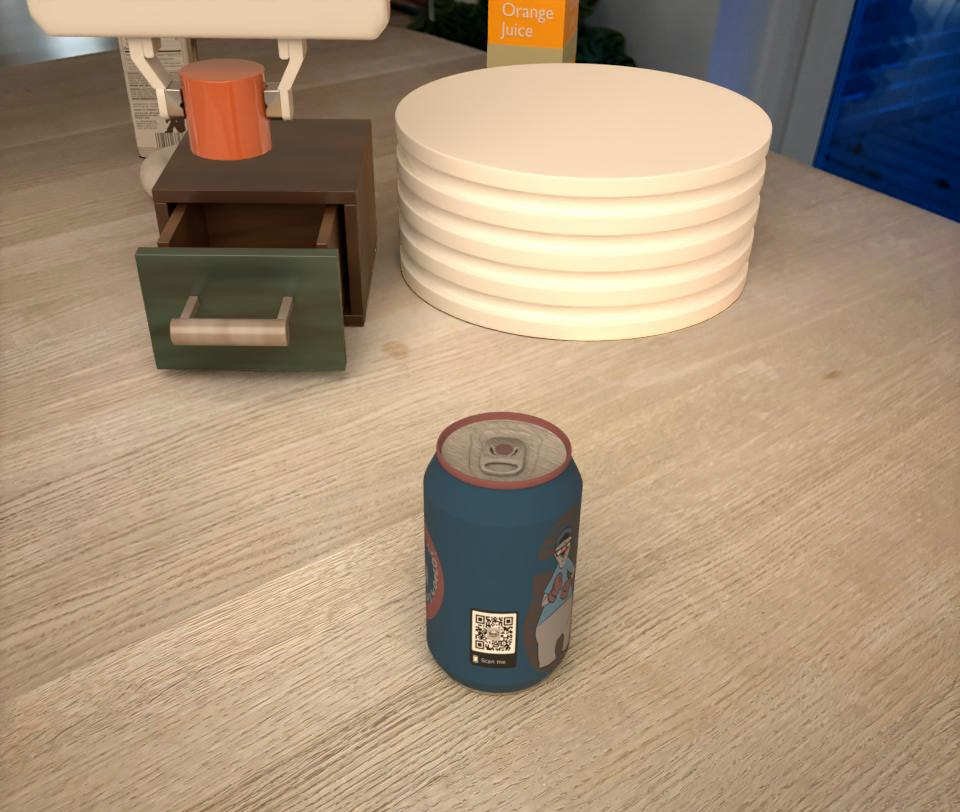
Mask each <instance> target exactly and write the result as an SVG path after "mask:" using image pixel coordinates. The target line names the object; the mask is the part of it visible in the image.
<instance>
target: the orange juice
mask: <svg viewBox="0 0 960 812" xmlns="http://www.w3.org/2000/svg"><path fill="white" fill-rule="evenodd" d="M487 2H488V4H487V7H488V8H487V9H488V11H487V14H488V15H487V17H488V18H487V44H486V46H487V47H486V49H487V50H486V68H493V67H501V66H511V65H523V64H542V63H576V56H577V44H578V24H579V23H578V22H579V7H580V6H579V4H580V0H488V1H487Z"/></svg>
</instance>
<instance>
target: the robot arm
mask: <svg viewBox="0 0 960 812" xmlns="http://www.w3.org/2000/svg"><path fill="white" fill-rule="evenodd" d="M25 1H26V5H27V9H28V12H29V15H30V18H31V19H32V20H33V21H34V22H35V24H37V26H38V27H39V28H40V29H41V30H42V31H43V32H44V33H45V34H46V35H47V36H48V37H49V36H50V37H52V38H53V37H54V38H55V37H56V38H58V37H60V38H62V37H63V38H118V37H127V39H128V45H129V51H130V56H131V59H132V60H133V62H134V63H135V65H136V66H137V67H138V69H139V70H140V71H141V73H142V74H143V76H144V77H145V78H146V80H147V81H148V82H149V84H150V85H151V86H152V88H153V89H156V95H157V101H158V107H159V113H160V117H161V119H169V120H170V119H186V116H185V109H184V103H183V96H182V90H181V83H180V81H172V79H171V78H170V76H169V75H168V73H167V71H166V70H165V68H164V67H163V65H162V64H161V62H160V61H159V59H158V58H157V56H156V55H155V54H156V53H157V52H158V51H159V49H160V48H161V47H162V46H161V39H160V38H196V39H227V40H228V39H229V40H230V39H231V40H232V39H238V40H239V39H240V40H241V39H242V40H277V47H278V48H277V49H278V57H279V59H281V60H289V61H288V64H287V65H286V68H285V70H284V73H283V74H282V77H281V80H280V81H268V82H267V81H266V86H267V87H265V89H264V101H265V103H266V105H267V108H266V118H267V120H287V121H291V120H292V119H294V118H293V117H294V114H295V113H294V112H295V109H294V108H295V107H294V95H293V85H294V83H295V80H296V78H297V76H298V73H299V71H300V69H301V67H302V65H303V61H304V60H305V58H306V54H307V53H308V45H307V44H308V43H307V42H308V41H307V40H319V41H321V40H328V41H329V40H331V41H332V40H335V41H339V40H340V41H374V40H376V39H377V38H379V37H380V35H381V33H383V31H384V30H385V29H386V28H387V26H388V24H389V22H390V19H391V0H25Z"/></svg>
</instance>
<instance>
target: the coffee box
mask: <svg viewBox="0 0 960 812" xmlns="http://www.w3.org/2000/svg"><path fill="white" fill-rule="evenodd" d="M160 39H161V46H162V47H161V48H160V49H159V51H158V52H157V53H156V54H155V55H156V56H157V58H158V59H159V61H160V62H161V64H162V65H163V67H164V68H165V70H166V71H167V73H168V75H169V76H170V78H171V79H172V81H180V77H179V70H180V69H181V68H182V67H184V66H186V65H188V64H191V63H194V62H198V61H200V57H199V51H198V43H197V38H160ZM117 42H118V49H119V54H120V59H121V64H122V65H121V66H122V71H123V76H124V81H125V86H126V93H127V98H128V104H129V110H130V115H131V121H132V127H133V131H134V132H133V133H134V137H135V143H136V147H143V148H144V147H154V148H156V147H159V148H160V147H161V148H164V147H168V146H172V145H176V144H179V143H180V141H181V139H182V138H183V136H184V134H185V133H186V131H187V122H186V119H170V120H169V119H161V117H160V113H159V107H158V101H157V95H156V89H153V88H152V86H151V85H150V84H149V82H148V81H147V80H146V78H145V77H144V76H143V74H142V73H141V71H140V70H139V69H138V67H137V66H136V65H135V63H134V62H133V60H132V59H131V56H130V51H129V45H128V39H127V37H117Z"/></svg>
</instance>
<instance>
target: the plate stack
mask: <svg viewBox="0 0 960 812" xmlns="http://www.w3.org/2000/svg"><path fill="white" fill-rule="evenodd" d="M771 120H772V119H771V118H770V117H769V115H768V114H767V112H765V110H764V109H763V108H762V107H760V105H758V104H757V103H755V102H754V101H752V100H751V99H749V98H748V97H746V96H744V95H742V94H740V93H738V92H736V91H734V90H731V89H729V88H726V87H725V86H721V85H718V84H715V83H713V82H712V83H711V82H709V81H706V80H702V79H699V78H694V77H692V76H691V77H690V76H686V75H682V74H678V73H672V72H668V71H662V70H655V69H649V68H642V67H633V66H626V65H625V66H624V65H616V64H615V65H614V64H613V65H612V64H603V63H600V64H599V63H581V62H580V63H577V62H575V63H542V64H523V65H511V66H501V67H493V68H487V67H486V68H481V69H474V70H469V71H464V72H460V73H456V74H452V75H448V76H445V77H442V78H439V79H435V80H433V81H430V82H428V83H425V84H422V85H421V86H419V87H417V88H415V89H414V90H412V91H411V92H409V93H408V94H406V95H405V96H404V97H403V98H402V99H401V100H400V101H399V103H398V104H397V106H396V108H395V112H394V129H395V130H394V131H395V136H396V139H397V144H396V147H395V148H396V150H395V160H396V162H395V163H396V171H397V174H398V179H397V184H396V185H397V187H396V188H397V204H398V208H399V212H398V237H399V241H400V244H399V267H401V268H400V272H401V271H402V272H401V275H402V278H403V279H404V281H405V283H406V284H407V285H408V287H409V288H410V289H411V290H412V292H414V293H415V294H416V295H417V296H418V297H420V298H421V299H422V300H423V301H425V302H426V303H427V304H428V305H430V306H432V307H434V308H436V309H438V310H439V311H441V312H443V313H445V314H447V315H449V316H452V317H454V318H457V319H458V320H462V321H464V322H468V323H470V324H473V325H476V326H480V327H482V328H485V329H486V328H487V329H490V330H494V331H497V332H503V333H507V334H511V335H512V334H513V335H517V336H522V337H523V336H524V337H529V338H531V337H532V338H539V339H546V340H547V339H548V340H559V341H575V342H576V341H579V342H581V341H582V342H583V341H585V342H586V341H587V342H591V341H593V342H594V341H595V342H596V341H597V342H598V341H618V340H620V341H621V340H631V339H639V338H640V339H641V338H644V337H646V338H647V337H652V336H657V335H662V334H667V333H672V332H677V331H679V330H683V329H687V328H690V327H693V326H695V325H698V324H700V323H703V322H705V321H708V320H709V319H711V318H714V317H715V316H717V315H719V314H720V313H722V312H723V311H725V310H726V309H728V308H729V307H730V306H731V305H733V304H734V303H735V302H736V301H737V300H738V298H739V297H740V295H741V294H742V293H743V290H744V289H745V286H746V283H747V277H748V273H749V272H748V271H749V263H750V262H749V258H750V256H751V253H752V250H753V249H752V247H753V242H754V236H755V224H756V222H757V220H758V214H759V208H760V205H761V195H760V192H761V190H762V187H763V185H764V180H765V175H766V170H767V160H766V156H767V155H768V153H769V151H770V145H771V141H772V134H773V124H772V121H771Z"/></svg>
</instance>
